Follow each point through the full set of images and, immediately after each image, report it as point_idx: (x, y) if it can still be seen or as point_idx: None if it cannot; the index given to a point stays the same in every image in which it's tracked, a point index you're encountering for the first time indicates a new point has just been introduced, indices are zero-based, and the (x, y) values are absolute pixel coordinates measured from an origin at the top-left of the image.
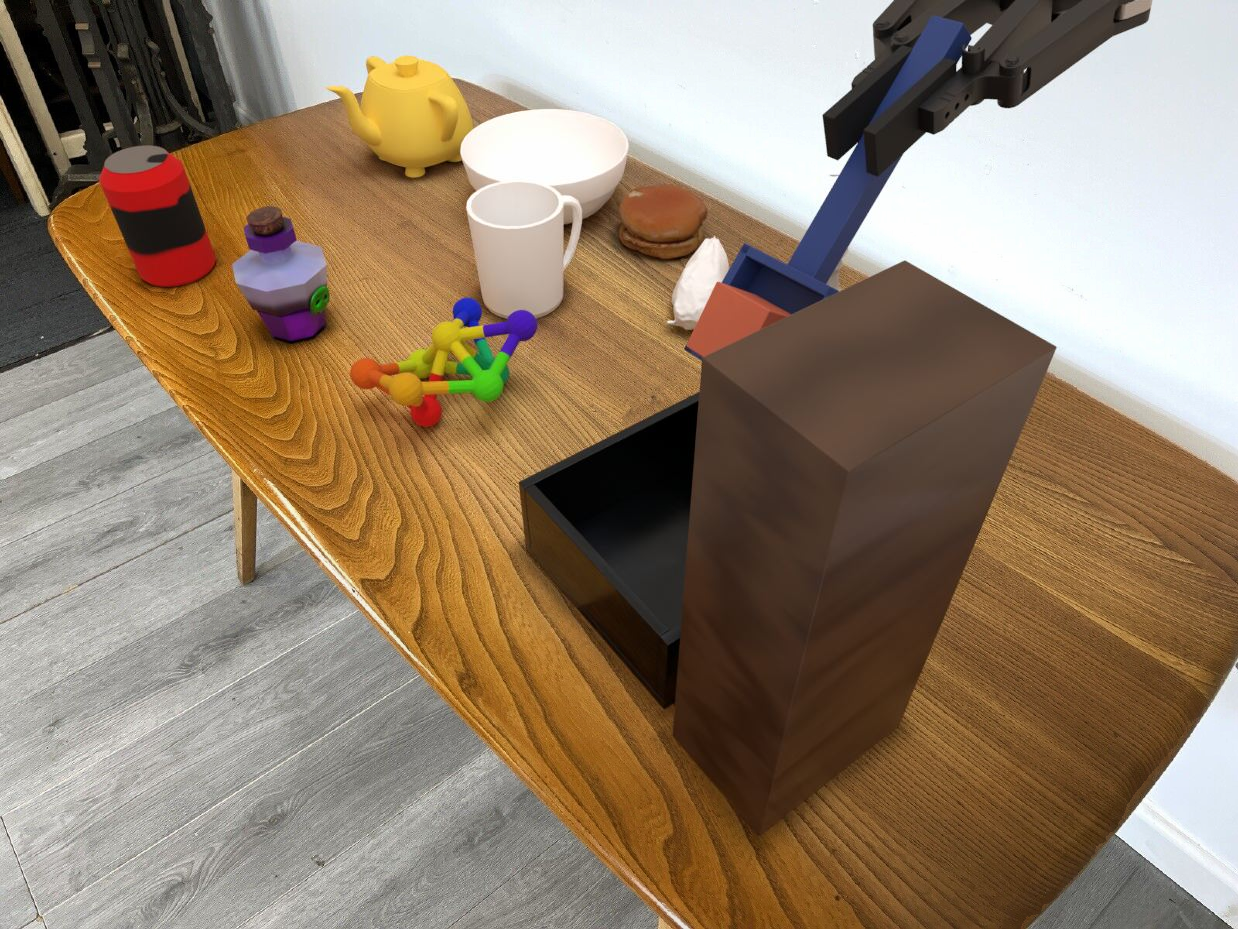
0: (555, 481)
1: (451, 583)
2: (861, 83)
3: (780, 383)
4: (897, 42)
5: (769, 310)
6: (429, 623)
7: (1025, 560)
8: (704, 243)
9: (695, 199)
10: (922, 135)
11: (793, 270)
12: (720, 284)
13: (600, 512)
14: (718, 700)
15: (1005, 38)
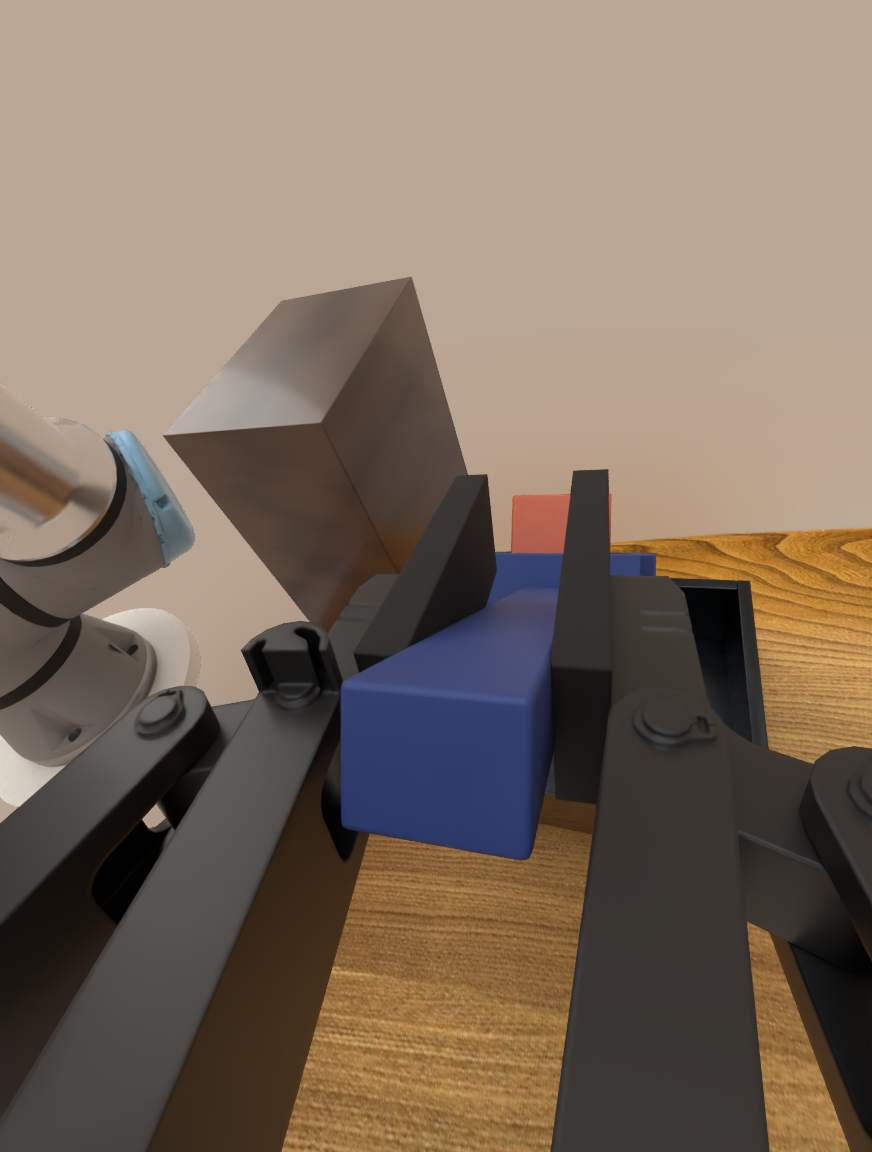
0: (737, 616)
1: (736, 578)
2: (598, 531)
3: (349, 299)
4: (656, 693)
5: (514, 497)
6: (706, 552)
7: (356, 999)
8: None
9: None
10: None
11: (543, 553)
12: None
13: (728, 704)
14: None
15: (176, 837)
